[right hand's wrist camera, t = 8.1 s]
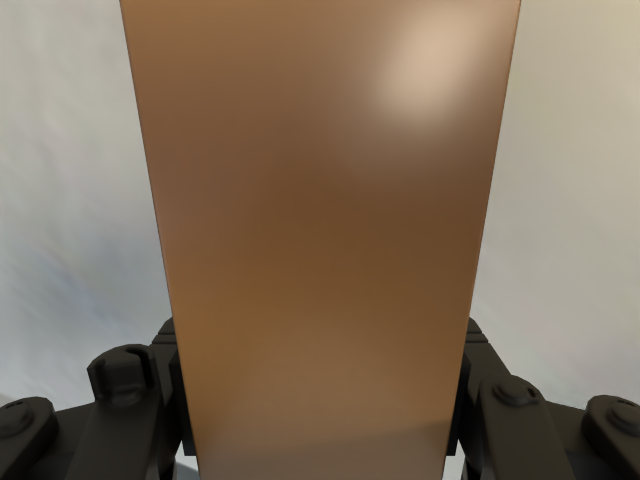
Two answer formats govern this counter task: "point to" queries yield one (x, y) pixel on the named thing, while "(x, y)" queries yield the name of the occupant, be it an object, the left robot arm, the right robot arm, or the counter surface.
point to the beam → (320, 220)
